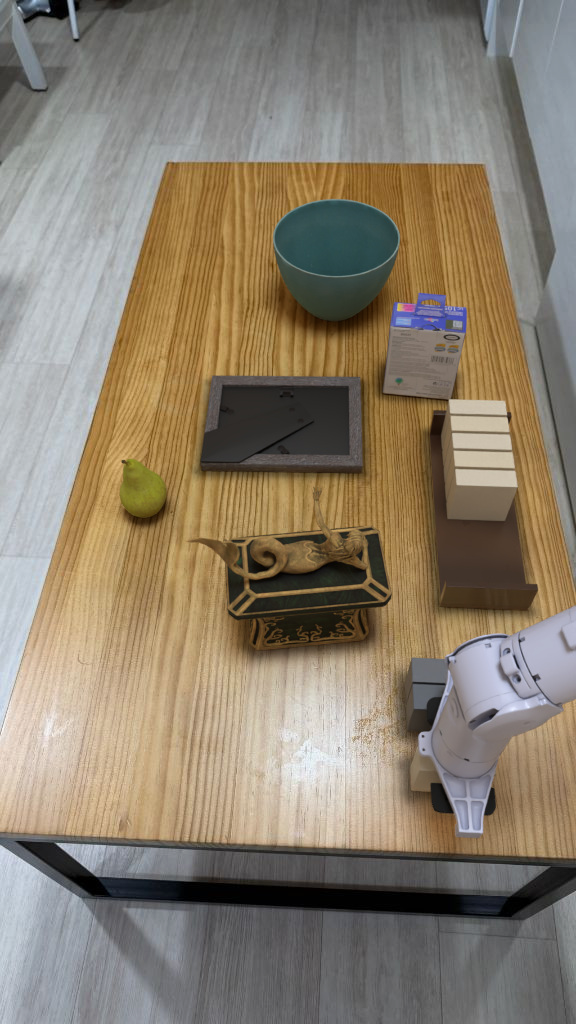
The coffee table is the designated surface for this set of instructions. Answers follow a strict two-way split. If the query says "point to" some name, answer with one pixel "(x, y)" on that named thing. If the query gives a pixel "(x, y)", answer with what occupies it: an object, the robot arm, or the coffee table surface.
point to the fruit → (141, 489)
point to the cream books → (478, 460)
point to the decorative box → (304, 583)
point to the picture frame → (283, 424)
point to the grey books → (422, 690)
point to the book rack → (475, 548)
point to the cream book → (423, 773)
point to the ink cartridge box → (424, 348)
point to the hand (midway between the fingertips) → (448, 774)
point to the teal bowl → (335, 255)
